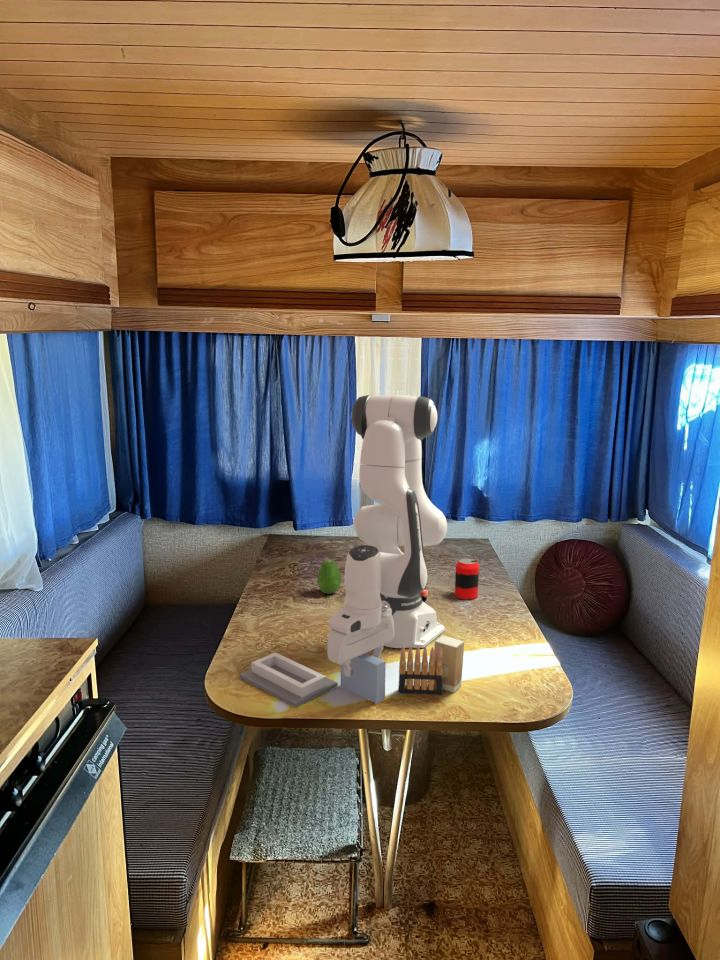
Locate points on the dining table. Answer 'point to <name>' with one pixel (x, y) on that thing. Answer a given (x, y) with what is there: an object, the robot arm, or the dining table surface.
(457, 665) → the skincare box
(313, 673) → the track base
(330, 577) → the avocado
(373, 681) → the door panel
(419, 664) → the ammunition clip
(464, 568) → the soda can
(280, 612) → the dining table surface
